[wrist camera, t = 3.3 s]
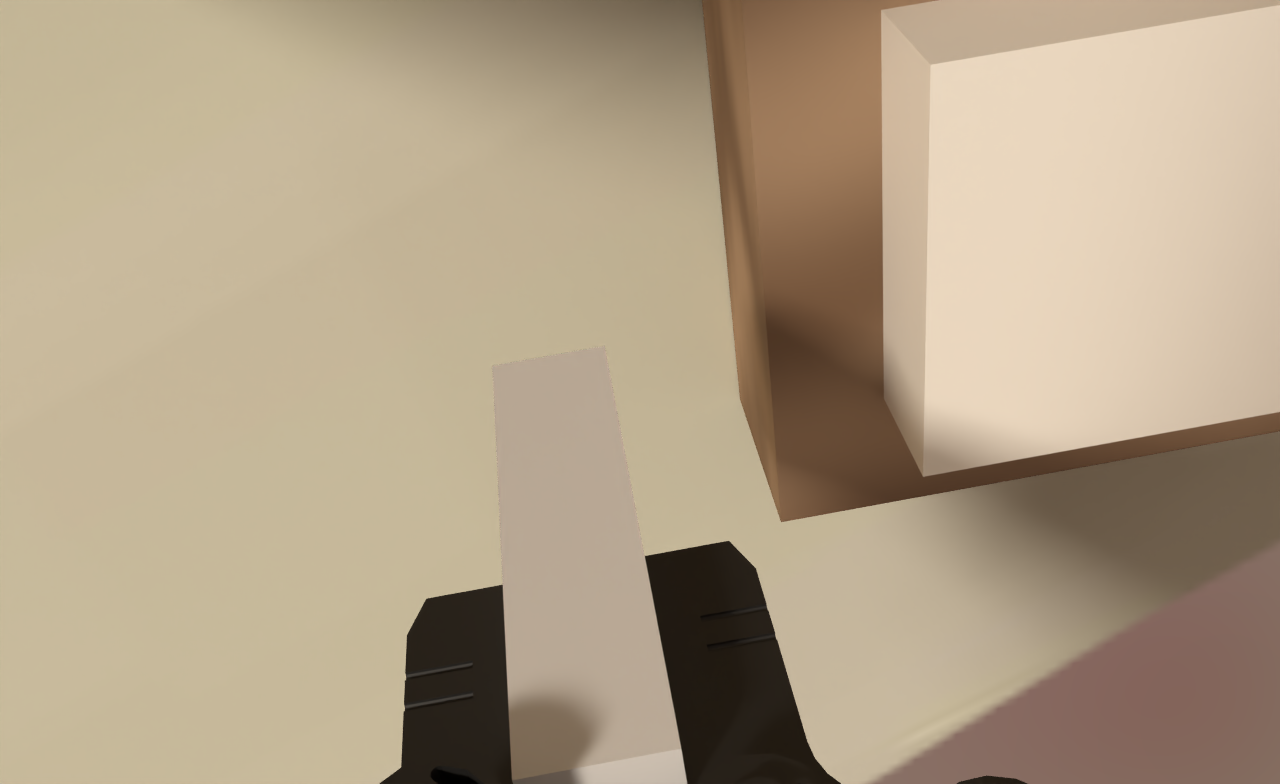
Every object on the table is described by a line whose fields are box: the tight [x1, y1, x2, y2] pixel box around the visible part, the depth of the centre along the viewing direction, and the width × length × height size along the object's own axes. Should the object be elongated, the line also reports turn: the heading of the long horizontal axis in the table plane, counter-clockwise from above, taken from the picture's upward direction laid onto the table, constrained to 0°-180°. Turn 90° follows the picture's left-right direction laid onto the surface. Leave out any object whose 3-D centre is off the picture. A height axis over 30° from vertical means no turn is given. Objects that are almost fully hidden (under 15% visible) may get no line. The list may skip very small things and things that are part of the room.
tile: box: [881, 0, 1280, 477], centre depth 19 cm, size 7×7×2 cm
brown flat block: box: [702, 0, 1280, 522], centre depth 21 cm, size 11×10×4 cm
